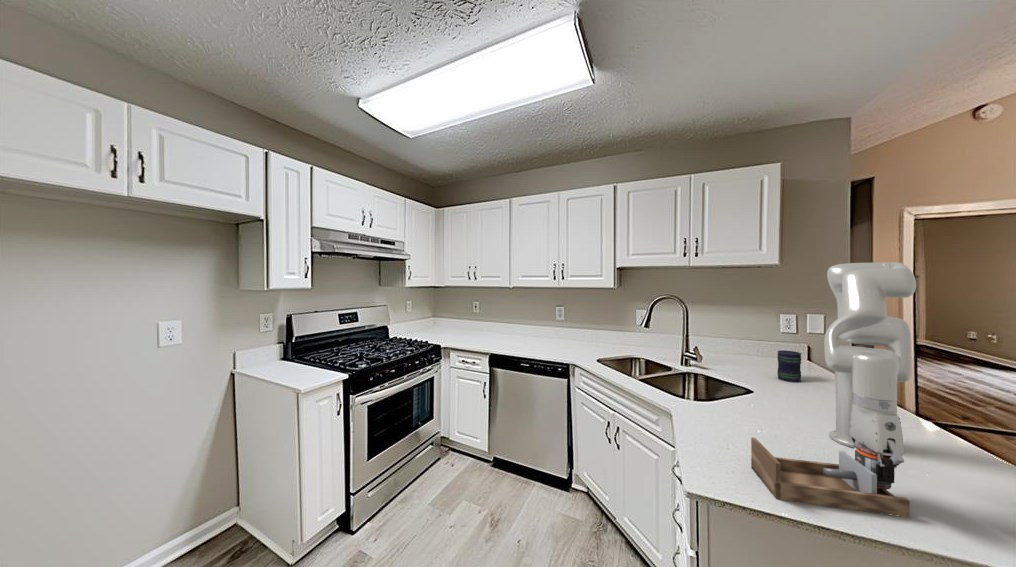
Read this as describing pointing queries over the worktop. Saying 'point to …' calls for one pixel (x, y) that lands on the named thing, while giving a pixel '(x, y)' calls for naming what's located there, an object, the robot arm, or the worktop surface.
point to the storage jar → (789, 366)
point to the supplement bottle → (870, 462)
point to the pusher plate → (853, 474)
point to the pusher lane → (818, 485)
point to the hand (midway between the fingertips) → (873, 473)
